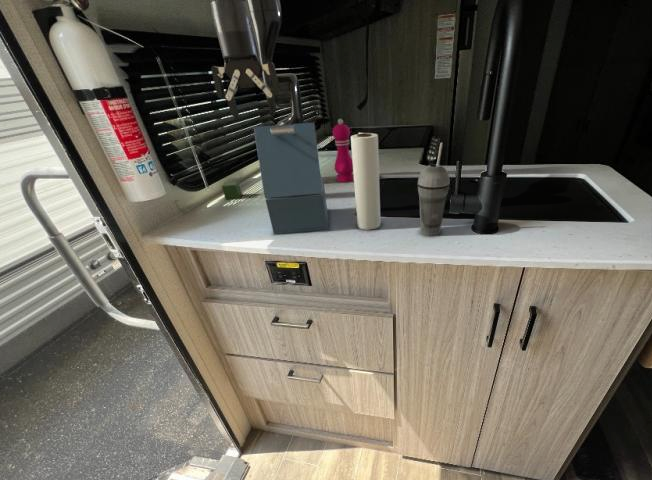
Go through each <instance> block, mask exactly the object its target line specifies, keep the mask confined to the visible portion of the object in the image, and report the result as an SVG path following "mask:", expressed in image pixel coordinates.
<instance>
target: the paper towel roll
mask: <svg viewBox="0 0 652 480" xmlns="http://www.w3.org/2000/svg"><path fill="white" fill-rule="evenodd" d="M350 147H351V159H352V161H353V172H352V174H354V180H353V185H354V199H355V210H356V211H355V212H356V224H357V227H358V228H359V229H361V230H366V231H368V230H369V231H370V230H376V229H378V228H379V227H380V226H381V222H382V221H381V193H380V192H381V191H380V189H381V188H380V159H379V158H380V156H379V155H380V154H379V135H378V133H371V132H358V133H357V134H353V135H351V136H350Z"/></svg>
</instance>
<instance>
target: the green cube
mask: <svg viewBox="0 0 652 480" xmlns="http://www.w3.org/2000/svg"><path fill="white" fill-rule="evenodd" d="M240 185H241V184H240V182H239V180H238V181H225V182H224V183H223V184H222V185H221V189H222V192H223V195H224V198H225V200H239V199H240V198H241V197H242V195H243V193H242V189H241V186H240Z"/></svg>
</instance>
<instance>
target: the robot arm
mask: <svg viewBox="0 0 652 480" xmlns="http://www.w3.org/2000/svg"><path fill="white" fill-rule="evenodd" d="M209 2H210V8H211V14H212V19H213V20H212V21H213V23H214V24H213V27H214V30H215V32H216V35H217V39H218V43H219V46H220V50H221V51H220V52H221V54H222V58H223V63H224V65H223V66H216V65H212V66H211V68H210V70H211V74H212V79H213V82H214V87H215V92H216V96H217V97H218V98H219V99H222V100H225V101H227V104H228V108H229V112H230V114H231V116H232V117H234V119H235V120H238V119H240V113H239V109H238V105H237V101H236V100H235V94H237V91H238V89H239V88H240V89H244V88H247V87H248V88H255V87H258V88H259V89H260V90H262V92H263V93H264V94H265V97H266V100H267V105H268V109H269V115H270V117H274V116H275V114H276V113H277V109H288V108H291V112H290V114H289V115H287V116H286V117H284V118H283V119H280V120H279V121H277V123H276V125H288V124H301V123H305V121H304V113H303V104H302V94H301V87H300V83H299V79H298V77H297V75H296V74H295V73H291V72H289V73H277V69H276V65H275V63H274V62H273V61H274V53H275V47H276V44H277V41H278V38H279V35H280V31H281V28H282V24H283V23H282V22H283V12H282V7H281V1H280V0H209ZM225 74H226V75H227V77H228V78H229V79H230V83H229V85H228V89H227V92H225V88H224V84H223V78H224V76H225Z"/></svg>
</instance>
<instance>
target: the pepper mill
mask: <svg viewBox="0 0 652 480" xmlns="http://www.w3.org/2000/svg"><path fill="white" fill-rule="evenodd" d="M350 135H351V130H350V128H349V126H348V125H347V124H344V120H343V119H342V118H338V120H337V124H336V125H334V127H333V128H332V136H333V138H334V139H335V140H334V142H335V143H334V145H335V146H336V150H337V151H336V153H337V154H336V159H335V162H334V172H336V174H337V175H336V180H337V182H339V183H349V182H350V183H351V182H354V174H353V160H352V155H350V151H349V145H350V139H349V138H350V137H351V136H350Z"/></svg>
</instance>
